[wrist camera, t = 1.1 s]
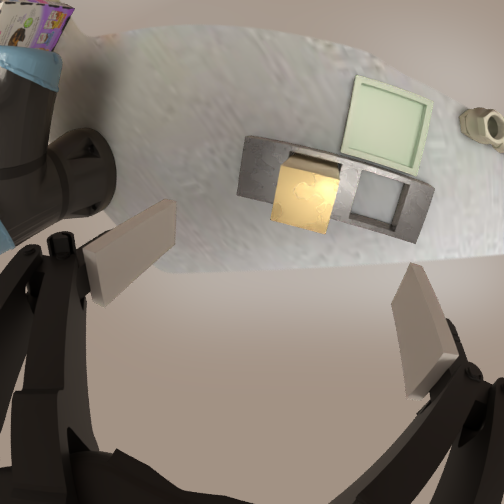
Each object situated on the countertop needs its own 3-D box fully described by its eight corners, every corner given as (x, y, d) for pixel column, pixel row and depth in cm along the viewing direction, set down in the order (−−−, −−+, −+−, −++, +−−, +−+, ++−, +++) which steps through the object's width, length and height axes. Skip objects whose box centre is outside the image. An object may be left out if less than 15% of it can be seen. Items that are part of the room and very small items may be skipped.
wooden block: (287, 192, 34) (270, 219, 25) (295, 152, 31) (280, 165, 23) (327, 202, 33) (325, 234, 24) (337, 163, 30) (339, 179, 22)
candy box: (64, 2, 26) (-3, -4, 12) (76, 8, 27) (4, 1, 12) (34, 61, 33) (-31, 68, 19) (44, 71, 33) (-25, 79, 19)
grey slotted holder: (242, 190, 35) (236, 195, 33) (251, 135, 32) (245, 136, 29) (410, 235, 31) (415, 243, 29) (428, 183, 28) (435, 188, 26)
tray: (340, 150, 30) (340, 152, 28) (354, 77, 25) (356, 75, 24) (411, 173, 28) (416, 176, 26) (428, 102, 24) (433, 101, 22)
